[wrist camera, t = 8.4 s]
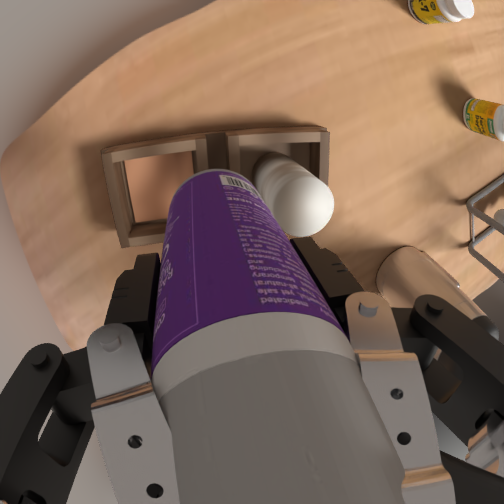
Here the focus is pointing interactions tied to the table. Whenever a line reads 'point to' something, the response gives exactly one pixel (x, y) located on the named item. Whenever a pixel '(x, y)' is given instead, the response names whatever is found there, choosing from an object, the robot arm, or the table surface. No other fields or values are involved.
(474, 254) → the newton's cradle
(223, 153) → the wooden divided tray
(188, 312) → the container
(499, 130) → the supplement bottle
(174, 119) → the table surface
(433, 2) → the supplement bottle
